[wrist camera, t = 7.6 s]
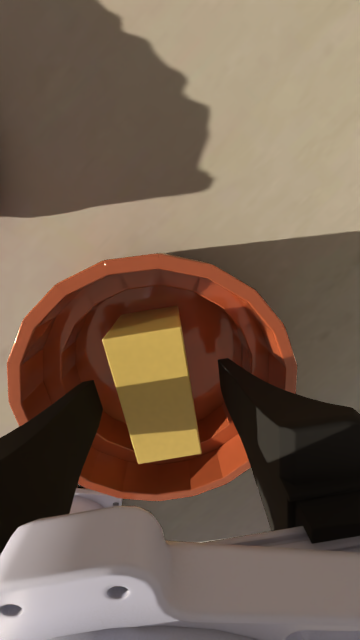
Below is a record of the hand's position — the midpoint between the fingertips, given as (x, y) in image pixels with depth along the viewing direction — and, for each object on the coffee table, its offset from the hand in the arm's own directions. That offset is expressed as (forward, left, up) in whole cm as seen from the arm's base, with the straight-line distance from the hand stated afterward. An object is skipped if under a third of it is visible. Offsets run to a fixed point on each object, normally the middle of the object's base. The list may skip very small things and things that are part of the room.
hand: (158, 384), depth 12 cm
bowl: (0, 0, -3) cm, 3 cm away
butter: (0, 0, -2) cm, 2 cm away
